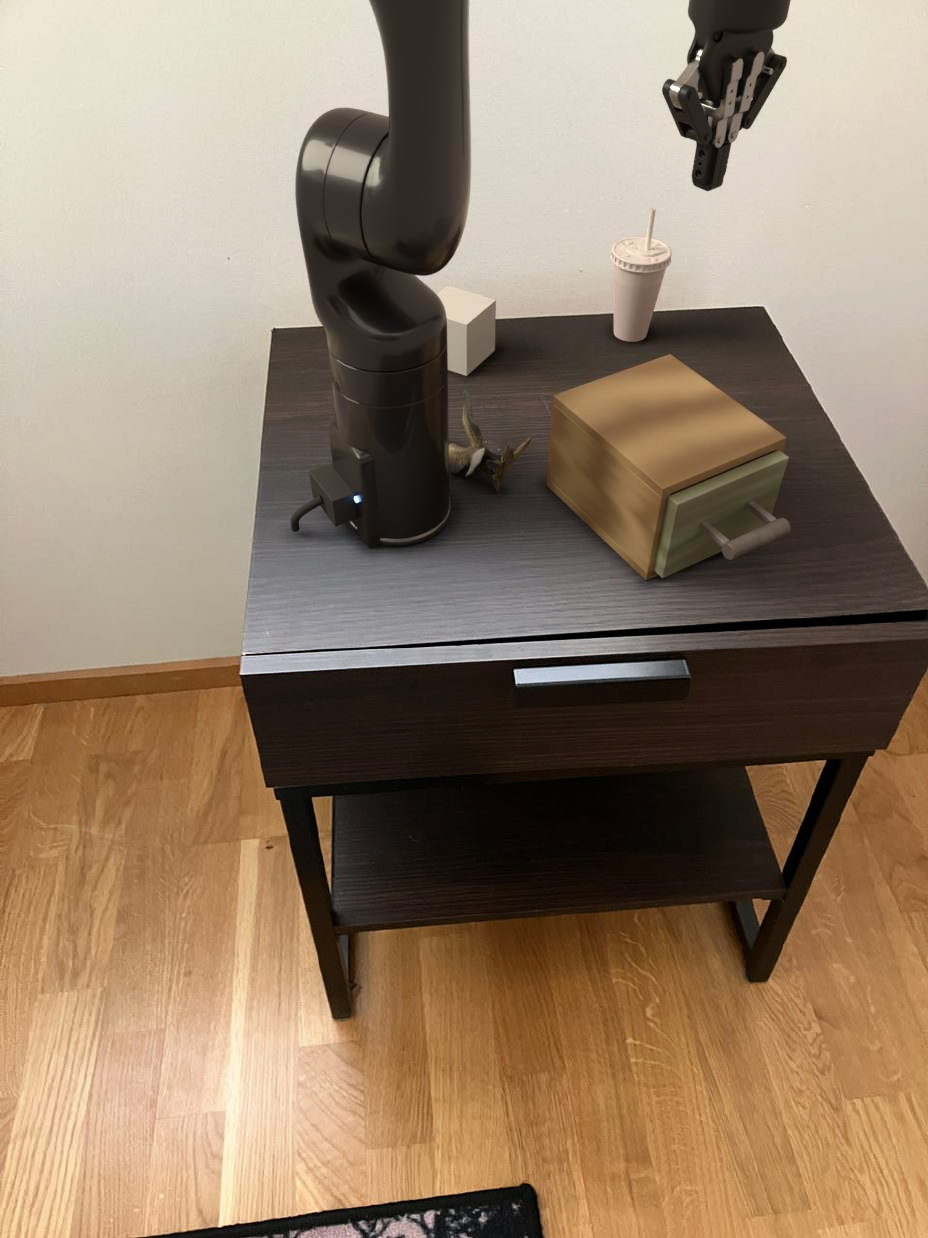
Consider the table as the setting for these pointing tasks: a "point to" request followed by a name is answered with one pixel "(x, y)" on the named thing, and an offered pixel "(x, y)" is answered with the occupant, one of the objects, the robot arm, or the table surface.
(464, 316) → the white cube
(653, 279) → the smoothie
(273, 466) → the table surface
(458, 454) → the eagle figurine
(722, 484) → the drawer
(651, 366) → the cabinet
